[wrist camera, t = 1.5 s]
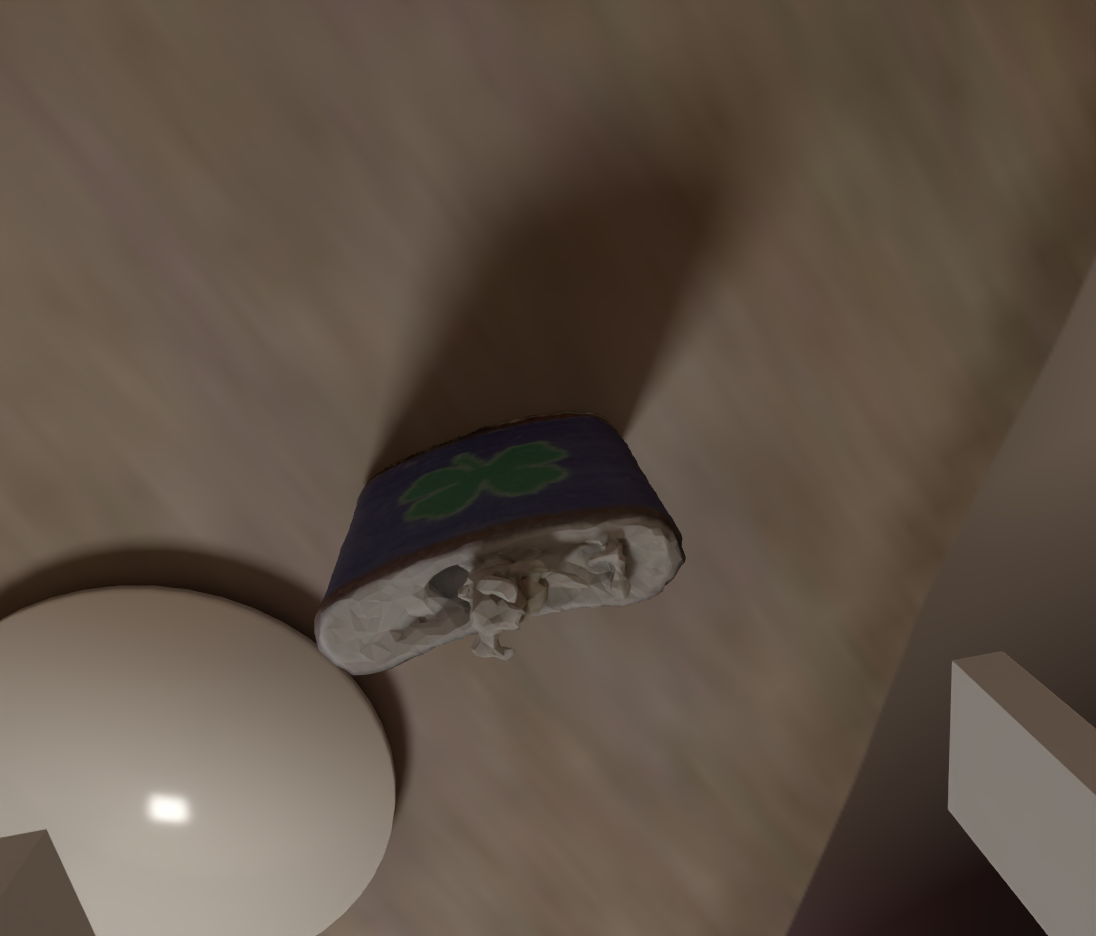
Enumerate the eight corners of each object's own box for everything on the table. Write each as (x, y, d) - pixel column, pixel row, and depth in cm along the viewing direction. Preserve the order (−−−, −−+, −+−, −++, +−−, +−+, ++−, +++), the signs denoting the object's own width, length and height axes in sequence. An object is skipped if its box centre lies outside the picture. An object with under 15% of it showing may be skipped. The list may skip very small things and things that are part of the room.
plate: (23, 987, 32) (6, 1016, 30) (-164, 626, 26) (-193, 645, 25) (435, 905, 32) (434, 930, 31) (340, 537, 27) (334, 552, 26)
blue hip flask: (373, 542, 27) (316, 740, 17) (344, 465, 26) (265, 626, 16) (627, 470, 27) (724, 624, 17) (608, 391, 26) (698, 504, 16)
